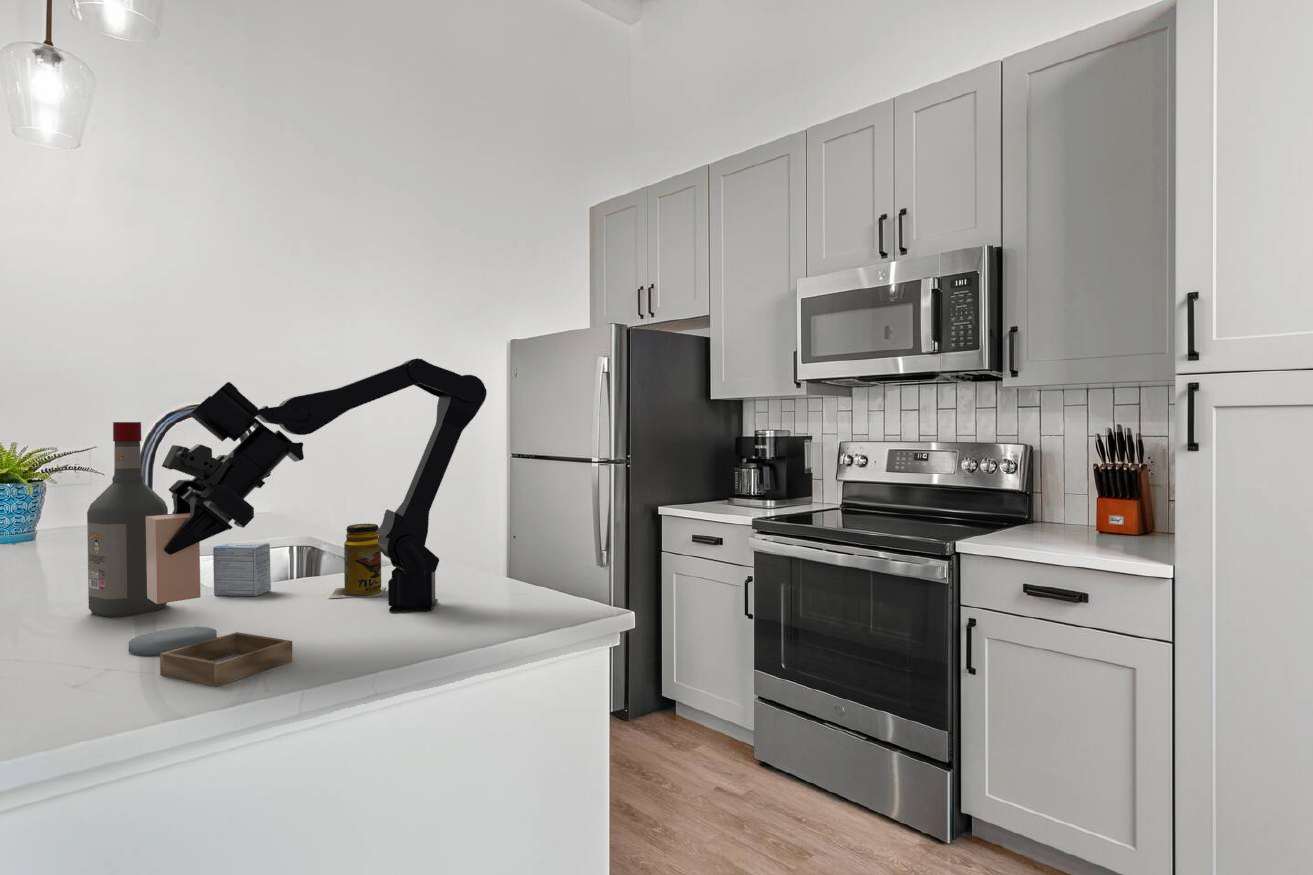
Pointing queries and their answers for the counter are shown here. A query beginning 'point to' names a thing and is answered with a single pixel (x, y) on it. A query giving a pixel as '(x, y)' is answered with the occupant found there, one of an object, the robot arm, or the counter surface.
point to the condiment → (361, 563)
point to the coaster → (169, 640)
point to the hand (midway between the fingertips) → (161, 550)
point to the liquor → (121, 533)
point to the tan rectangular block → (170, 562)
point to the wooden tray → (201, 668)
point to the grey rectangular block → (241, 569)
